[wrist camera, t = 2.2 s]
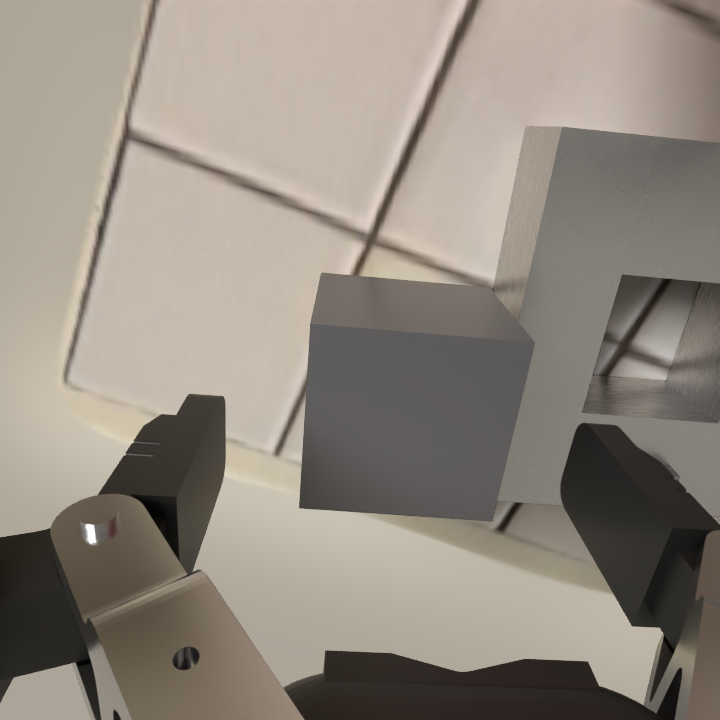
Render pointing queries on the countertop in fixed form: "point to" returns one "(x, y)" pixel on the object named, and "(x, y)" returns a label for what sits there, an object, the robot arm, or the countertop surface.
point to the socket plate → (611, 300)
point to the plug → (410, 397)
